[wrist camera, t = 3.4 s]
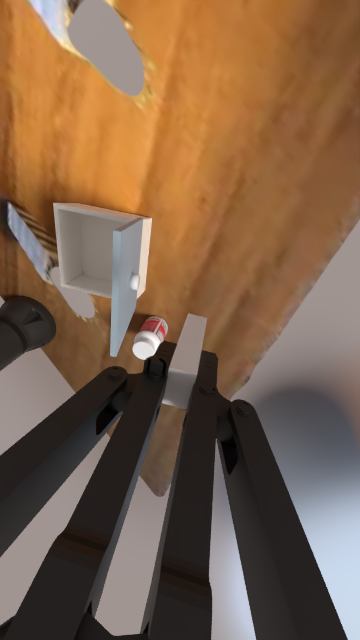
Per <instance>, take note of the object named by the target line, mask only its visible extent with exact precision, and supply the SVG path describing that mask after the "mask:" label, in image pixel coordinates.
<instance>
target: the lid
mask: <svg viewBox="0 0 360 640" xmlns="http://www.w3.org/2000/svg"><path fill="white" fill-rule="evenodd" d="M142 228H143V218H137V219H135V220H133V221H131V222H129V223H127V224H125V225H123V226H121V227H119V228H117V229H115V230H113V264H112V306H111V349H110V356H113V357H116V356H117V353H118V351H119V348H120V346H121V343H122V341H123V338H124V336H125V333H126V331H127V328H128V326H129V323H130V321H131V318H132V316H133V313H134V311H135V308H136V301H137V290H138V288H139V282H140V275H139V265H140V253H141V241H142Z"/></svg>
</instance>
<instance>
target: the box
mask: <svg viewBox="0 0 360 640" xmlns="http://www.w3.org/2000/svg"><path fill="white" fill-rule="evenodd" d="M53 207H54V218H55V229H56V239H57V250H58V261H59V270H60V271H59V272H60V282H61V287H65V288H69V289H73V290H78V291H82V292H86V293H90V294H94V295H99V296H103V297H107V298H111V299H112V264H113V230H115V229H117V228H119V227H121V226H123V225H125V224H127V223H129V222H131V221H133V220H135V219H137V218H143V228H142V241H141V253H140V265H139V275H140V282H139V288H138V290H137V298H138V297H139V296H140V295H141V294H142V293H143V292H144V291H145V284H146V274H147V264H148V254H149V244H150V234H151V224H152V218H149V217H144V216H139V215H135V214H130V213H125V212H120V211H115V210H110V209H105V208H100V207H95V206H90V205H85V204H81V203H53Z"/></svg>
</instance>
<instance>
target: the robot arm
mask: <svg viewBox="0 0 360 640" xmlns="http://www.w3.org/2000/svg"><path fill="white" fill-rule="evenodd" d="M206 322H207V318H205V317H201V316H197V315H193V314H189V313H188V316H187V318H186V321H185V324H184V327H183V330H182V332H181V335H180V338H179V341H178V344H175V343H171V342H167V341H163V342H162V343H160V344H159V346H158V348H157V350H156V352H155V354H154V356H150V357H148V358H146V360H145V362H144V369H143V372H142V373H138V374H127V371H126V370H125V369H124V368H122V367H119V366H112V367H108V368H106V369H105V370H103V371H102V372H101V373H100V374H99V375H97V376H96V377H95V378H94V379H93V380H91V381H90V382H89V383H88V384H87V385H85V386H84V387H83V388H82V389H80V390H79V391H78V392H77V393H76V394H74V395H73V396H72V397H71V398H70V399H68V400H67V401H66V402H65V403H63V404H62V405H61V406H60V407H59V408H58V409H56V410H55V411H54V412H53V413H51V414H50V415H49V416H48V417H47V418H45V419H44V420H43V421H42V422H41V423H39V424H38V425H37V426H36V427H35V428H33V429H32V430H31V431H30V432H28V433H27V434H26V435H25V436H24V437H22V438H21V439H20V440H19V441H18V442H16V443H15V444H14V445H13V446H11V447H10V448H9V449H8V450H7V451H5V452H4V453H3V454H2V455H0V557H1V556H2V555H3V553H4V552H5V551H6V550H7V549H8V548H9V546H10V545H11V544H12V543H13V542H14V541H15V539H16V538H17V537H18V536H19V535H20V534H21V532H22V531H23V530H24V529H25V528H26V526H27V525H28V524H29V523H30V522H31V521H32V519H33V518H34V517H35V516H36V515H37V513H38V512H39V511H40V510H41V509H42V508H43V506H44V505H45V504H46V503H47V501H49V499H50V498H51V497H52V496H53V495H54V493H55V492H56V491H57V490H58V489H59V488H60V486H61V485H62V484H63V483H64V482H65V481H66V479H67V478H68V477H69V476H70V474H71V473H72V472H73V471H74V470H75V469H76V468H77V466H78V465H79V464H80V463H81V461H83V459H84V458H85V457H86V456H87V454H88V453H89V452H90V451H91V450H92V449H93V448H94V446H95V445H96V444H97V443H98V441H100V439H101V438H102V437H103V436H104V435H105V433H106V432H107V431H108V430H109V429H110V428H111V426H112V425H113V424H114V423H115V422H116V421H117V419H118V418H119V417H120V416H121V415H122V416H121V418H120V420H119V422H118V424H117V426H116V428H115V430H114V432H113V434H112V436H111V438H110V440H109V442H108V444H107V446H106V448H105V450H104V452H103V454H102V456H101V458H100V460H99V462H98V464H97V466H96V468H95V470H94V473H93V474H92V476H91V478H90V480H89V482H88V484H87V486H86V489H85V490H84V492H83V494H82V496H81V498H80V501H79V503H78V504H77V506H76V508H75V511H74V513H73V515H72V517H71V519H70V521H69V523H68V525H67V526H66V528H65V529H64V531H63V532H62V533H61V534H60V535H59V536H58V537H57V538H56V539H55V541H54V542H53V544H52V546H51V547H50V549H49V551H48V553H47V555H46V557H45V559H44V561H43V562H42V564H41V566H40V568H39V570H38V572H37V574H36V576H35V578H34V580H33V582H32V584H31V586H30V588H29V590H28V592H27V594H26V596H25V598H24V600H23V602H22V604H21V606H20V607H19V609H18V611H17V613H16V615H15V616H13V617H11V618H10V619H9V620H7V621H6V622H4V623H3V624H2V625H0V640H211V626H212V590H211V586H210V582H209V557H210V539H211V520H212V501H213V481H214V462H215V443H216V438H217V443H218V449H219V453H220V458H221V463H222V468H223V474H224V479H225V484H226V489H227V494H228V499H229V504H230V509H231V514H232V519H233V524H234V529H235V534H236V539H237V544H238V549H239V554H240V560H241V565H242V570H243V575H244V580H245V585H246V590H247V595H248V600H249V605H250V610H251V615H252V620H253V625H254V630H255V635H256V640H348V639H347V637H346V634H345V632H344V630H343V627H342V624H341V622H340V619H339V617H338V614H337V612H336V609H335V607H334V604H333V602H332V599H331V597H330V594H329V592H328V589H327V587H326V584H325V582H324V579H323V577H322V575H321V572H320V569H319V567H318V564H317V562H316V560H315V557H314V555H313V552H312V550H311V547H310V545H309V542H308V540H307V537H306V535H305V532H304V530H303V527H302V525H301V522H300V520H299V517H298V515H297V512H296V510H295V507H294V505H293V503H292V500H291V498H290V495H289V492H288V490H287V487H286V485H285V482H284V480H283V477H282V475H281V473H280V470H279V467H278V465H277V463H276V460H275V457H274V455H273V453H272V450H271V448H270V445H269V443H268V440H267V438H266V435H265V433H264V430H263V428H262V425H261V423H260V420H259V418H258V415H257V413H256V411H255V409H254V408H253V406H252V405H251V404H250V403H248V402H246V401H244V400H240V399H239V400H234V401H233V402H231V401H229V400H227V399H225V398H224V397H223V396H222V395H220V393H219V392H218V390H217V386H216V384H217V367H218V358H217V356H216V354H215V353H211V352H207V351H204V350H202V344H203V339H204V333H205V327H206ZM55 334H56V325H55V322H54V319H53V317H52V316H51V314H50V313H49V311H48V310H47V309H46V308H45V307H44V306H43V305H42V304H40V303H39V302H37V301H35V300H34V299H31V298H28V297H23V296H19V297H15V298H13V299H10V300H8V301H6V302H5V303H4V304H3V305H2V306H1V308H0V371H1V370H2V369H4V368H5V367H6V366H8V365H9V364H10V363H12V362H13V361H14V360H16V359H17V358H18V357H20V356H21V355H22V354H24V353H25V352H28V351H31V350H34V349H36V348H39V347H43V346H45V345H46V344H48V343H49V342H50V341H51V340H53V338H54V337H55ZM161 403H164V404H168V405H171V406H175V407H178V408H182V409H185V410H187V412H186V415H185V418H184V422H183V425H182V427H183V428H182V433H181V438H180V443H179V448H178V453H177V458H176V463H175V468H174V473H173V478H172V483H171V488H170V493H169V498H168V503H167V508H166V513H165V517H164V523H163V527H162V532H161V537H160V542H159V547H158V552H157V557H156V562H155V567H154V572H153V577H152V582H151V586H150V591H149V595H148V599H147V603H146V608H145V612H144V617H143V621H142V626H141V631H140V634H134V635H122V636H113V635H111V634H110V633H109V632H108V631H107V630H106V629H105V628H104V627H103V626H102V625H101V624H100V623H99V622H98V621H97V620H96V619H95V618H94V617H95V614H96V611H97V608H98V605H99V601H100V598H101V595H102V591H103V587H104V584H105V580H106V577H107V573H108V570H109V567H110V564H111V560H112V557H113V554H114V551H115V548H116V545H117V542H118V539H119V536H120V532H121V529H122V526H123V523H124V520H125V517H126V514H127V511H128V508H129V504H130V501H131V498H132V495H133V492H134V489H135V486H136V483H137V480H138V476H139V474H140V471H141V467H142V464H143V461H144V458H145V455H146V452H147V449H148V446H149V443H150V440H151V436H152V433H153V430H154V427H155V424H156V421H157V418H158V415H159V412H160V407H161ZM122 413H123V414H122Z"/></svg>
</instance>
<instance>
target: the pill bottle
mask: <svg viewBox="0 0 360 640" xmlns="http://www.w3.org/2000/svg"><path fill="white" fill-rule="evenodd" d="M167 330H168V327H167V324H166V322H165V321H164V320H163V319H162V318H160V317H156V316H153V317H150V318H148V319H147V320H146V321H145V323H144V324H143V326H142V327H141V329H140V330H139V332H138V333H137V335H136V336H135V339H134V346H133V353H134V354H135V356H137V357H138V358H140V359H143V360H146V358H148V357H150V356H153V354H155V352H156V350H157V348H158V346H159V344H160V343H162V342H163V340H164V338H165V336H166V333H167Z"/></svg>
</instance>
